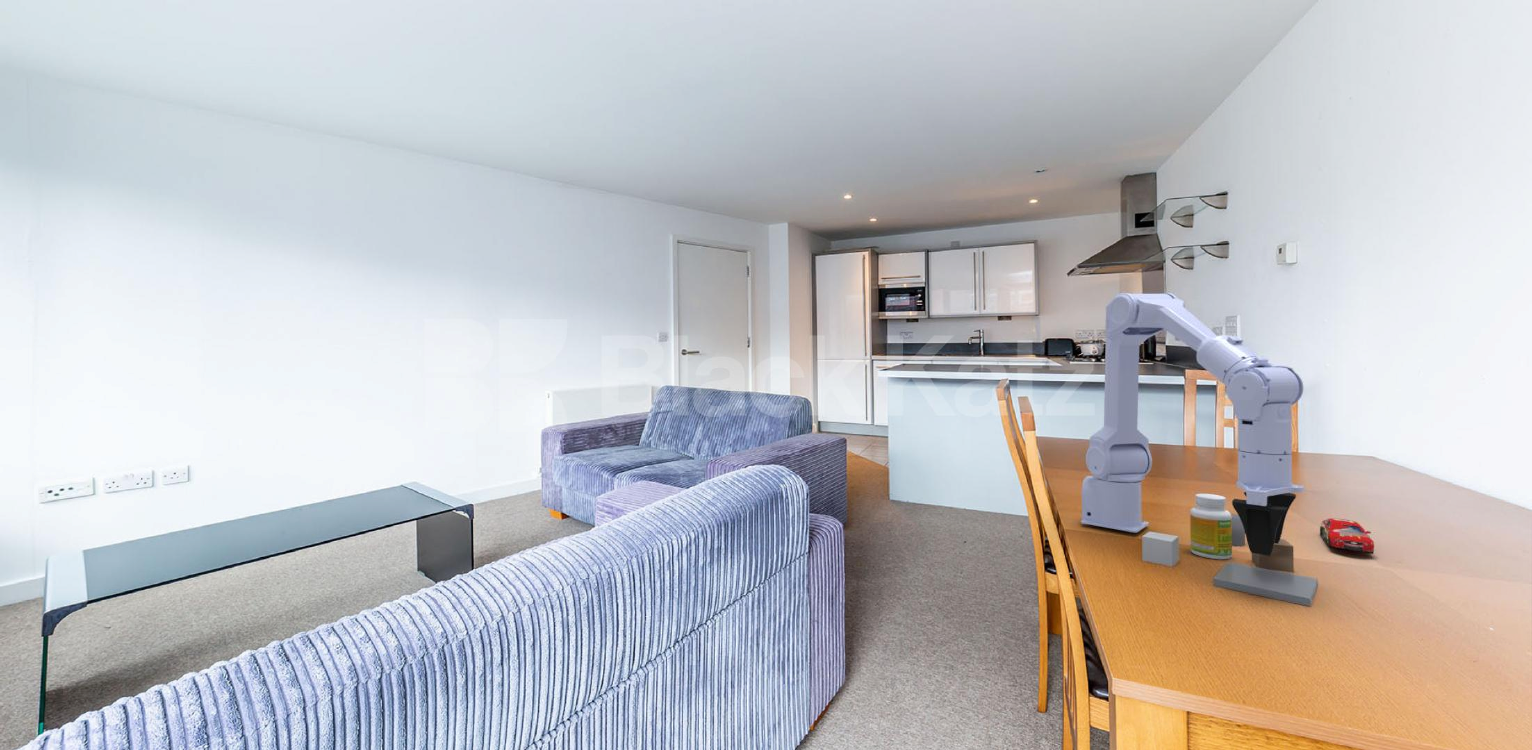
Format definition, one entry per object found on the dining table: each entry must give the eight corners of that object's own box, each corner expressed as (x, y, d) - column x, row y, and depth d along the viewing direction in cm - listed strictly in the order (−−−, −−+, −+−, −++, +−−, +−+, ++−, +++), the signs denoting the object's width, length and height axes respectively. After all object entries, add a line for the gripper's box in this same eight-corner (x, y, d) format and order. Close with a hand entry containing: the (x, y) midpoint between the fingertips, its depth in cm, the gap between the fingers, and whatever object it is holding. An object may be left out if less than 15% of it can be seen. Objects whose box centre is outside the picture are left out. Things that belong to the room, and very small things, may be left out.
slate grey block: (1213, 544, 99) (1213, 515, 99) (1218, 539, 102) (1217, 511, 102) (1242, 549, 96) (1242, 520, 96) (1247, 544, 99) (1246, 515, 99)
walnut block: (1259, 568, 87) (1259, 542, 87) (1251, 560, 91) (1251, 535, 91) (1293, 572, 86) (1293, 546, 86) (1284, 564, 89) (1284, 539, 89)
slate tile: (1213, 585, 81) (1213, 578, 81) (1227, 567, 88) (1227, 561, 88) (1310, 606, 74) (1310, 598, 74) (1317, 585, 80) (1317, 578, 80)
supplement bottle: (1222, 562, 90) (1222, 501, 90) (1184, 552, 95) (1183, 495, 95) (1238, 556, 93) (1237, 497, 93) (1199, 547, 98) (1199, 491, 98)
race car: (1377, 558, 89) (1377, 532, 89) (1329, 551, 93) (1329, 526, 93) (1361, 540, 99) (1361, 517, 99) (1318, 534, 103) (1318, 512, 103)
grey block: (1142, 560, 92) (1142, 536, 92) (1149, 555, 94) (1149, 531, 94) (1172, 567, 89) (1171, 541, 89) (1178, 561, 91) (1178, 536, 91)
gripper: (1296, 460, 73) (1297, 566, 73) (1308, 449, 82) (1309, 542, 82) (1226, 455, 78) (1227, 554, 78) (1245, 444, 88) (1246, 532, 88)
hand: (1265, 547), depth 81 cm, fingers open, 7 cm apart
